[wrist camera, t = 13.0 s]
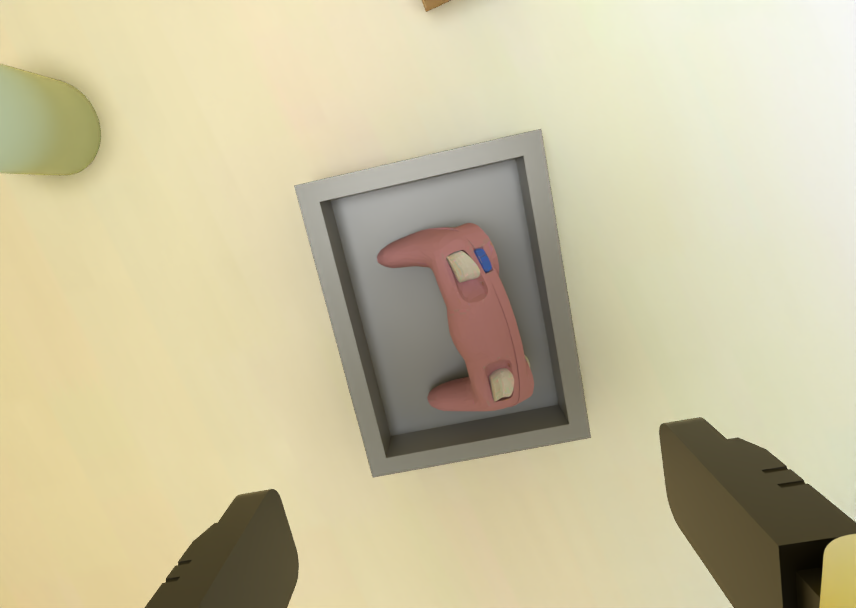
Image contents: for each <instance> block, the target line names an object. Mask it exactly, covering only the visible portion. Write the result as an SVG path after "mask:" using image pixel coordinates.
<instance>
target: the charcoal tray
mask: <svg viewBox="0 0 856 608" xmlns="http://www.w3.org/2000/svg"><path fill="white" fill-rule="evenodd" d="M294 187H295V191H296V195H297V198H298V202H299V206H300V209H301V213H302V217H303V220H304V224H305V228H306V232H307V235H308V239H309V243H310V246H311V250H312V254H313V258H314V261H315V265H316V269H317V272H318V276H319V280H320V284H321V287H322V291H323V295H324V298H325V302H326V306H327V310H328V313H329V317H330V321H331V324H332V328H333V332H334V336H335V339H336V343H337V347H338V350H339V354H340V358H341V361H342V365H343V369H344V373H345V376H346V380H347V384H348V387H349V391H350V395H351V399H352V402H353V406H354V410H355V413H356V417H357V421H358V425H359V428H360V432H361V436H362V439H363V443H364V447H365V451H366V454H367V458H368V462H369V465H370V469H371V473H372V476H373V477H378V476H384V475H389V474H395V473H400V472H406V471H411V470H417V469H422V468H428V467H433V466H439V465H444V464H449V463H455V462H460V461H466V460H471V459H477V458H482V457H488V456H493V455H499V454H504V453H510V452H515V451H521V450H526V449H532V448H537V447H543V446H548V445H554V444H559V443H565V442H570V441H576V440H581V439H587V438H591V435H590V428H589V422H588V416H587V410H586V404H585V398H584V391H583V385H582V379H581V373H580V367H579V360H578V354H577V348H576V342H575V336H574V329H573V323H572V317H571V311H570V305H569V298H568V292H567V286H566V280H565V274H564V267H563V261H562V255H561V249H560V243H559V237H558V230H557V224H556V218H555V212H554V206H553V199H552V193H551V187H550V181H549V175H548V168H547V162H546V156H545V150H544V144H543V137H542V131H541V129H538V130H534V131H530V132H525V133H521V134H517V135H512V136H508V137H504V138H499V139H495V140H490V141H486V142H482V143H477V144H473V145H469V146H464V147H460V148H456V149H451V150H447V151H443V152H438V153H434V154H430V155H425V156H421V157H417V158H412V159H408V160H404V161H399V162H395V163H391V164H386V165H382V166H377V167H373V168H369V169H364V170H360V171H356V172H351V173H347V174H343V175H338V176H334V177H330V178H325V179H321V180H317V181H312V182H308V183H304V184H299V185H295V186H294ZM465 223H473V224H476V225H478V226H479V227H480V228H481V229H482V230H483V231H484V232H485V233H486V234H487V236H488V237H489V239H490V241H491V242H492V244H493V246H494V249H495V251H496V254H497V257H498V262H499V278H500V280H501V282H502V284H503V286H504V289H505V291H506V294H507V296H508V299H509V302H510V305H511V308H512V310H513V313H514V316H515V319H516V322H517V326H518V330H519V334H520V337H521V341H522V345H523V350H524V355H525V356H526V357H527V358H528V360H529V363H530V369H531V372H532V374H533V380H534V389H533V394H532V396H531V397H529V398H527V399H526V400H524V401H522V402H520V403H519V404H517V405H515V406H513V407H507V408H504V409H500V410H496V411H442V410H438V409H436V408H434V407H432V406H431V405H430V404H429V402H428V399H427V397H428V394H429V392H430V391H431V390H432V389H433V388H435V387H437V386H439V385H441V384H443V383H446V382H449V381H452V380H455V379H460V378H465V377H469V374H468V371H467V367H466V363H465V360H464V359H463V357H462V356H461V354H460V353H459V352H458V350H457V348H456V346H455V345H454V343H453V341H452V338H451V335H450V332H449V325H448V318H447V307H446V304H445V302H444V299H443V297H442V294H441V292H440V289H439V286H438V284H437V281H436V278H435V275H434V273H433V271H432V269H431V268H429V267H420V266H412V267H401V268H389V267H385V266H383V265H381V264H379V263H378V262H377V255H378V253H379V252H380V250H382V249H383V248H384V247H386V246H387V245H388V244H390V243H392V242H394V241H396V240H398V239H401V238H403V237H406V236H408V235H410V234H413V233H416V232H418V231H421V230H426V229H431V228H441V227H452V228H455V227H457V226H460V225H463V224H465Z"/></svg>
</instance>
